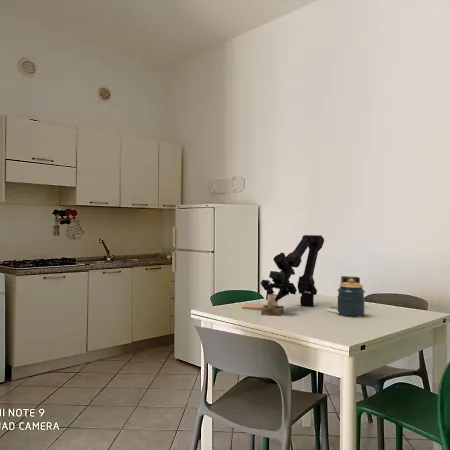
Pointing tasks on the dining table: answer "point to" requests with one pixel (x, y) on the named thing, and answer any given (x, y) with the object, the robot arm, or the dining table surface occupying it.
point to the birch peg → (272, 301)
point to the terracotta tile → (253, 306)
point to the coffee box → (346, 278)
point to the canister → (351, 299)
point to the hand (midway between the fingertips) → (270, 300)
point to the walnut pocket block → (272, 311)
